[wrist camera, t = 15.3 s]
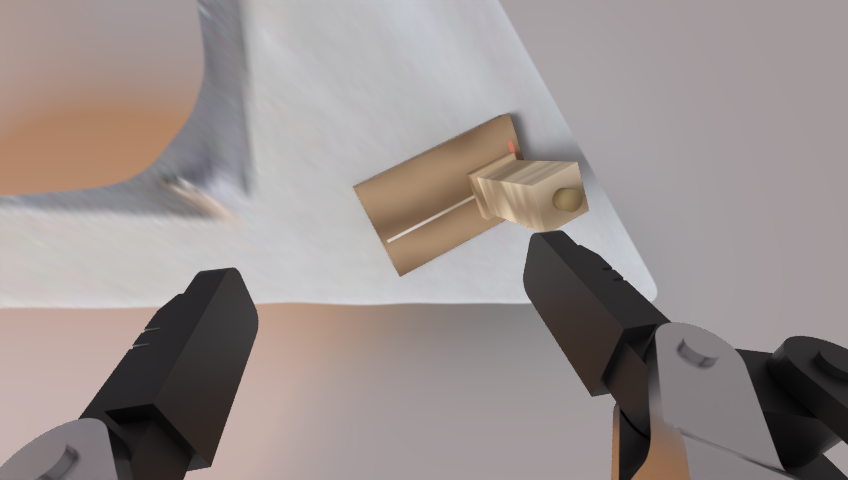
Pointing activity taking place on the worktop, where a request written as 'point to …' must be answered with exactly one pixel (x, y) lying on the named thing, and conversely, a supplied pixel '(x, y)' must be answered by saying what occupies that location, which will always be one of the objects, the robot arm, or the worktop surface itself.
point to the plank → (435, 195)
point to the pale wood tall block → (529, 191)
